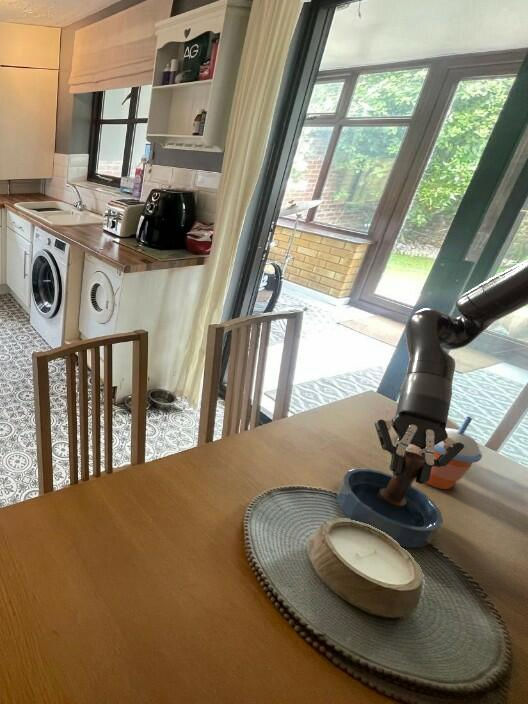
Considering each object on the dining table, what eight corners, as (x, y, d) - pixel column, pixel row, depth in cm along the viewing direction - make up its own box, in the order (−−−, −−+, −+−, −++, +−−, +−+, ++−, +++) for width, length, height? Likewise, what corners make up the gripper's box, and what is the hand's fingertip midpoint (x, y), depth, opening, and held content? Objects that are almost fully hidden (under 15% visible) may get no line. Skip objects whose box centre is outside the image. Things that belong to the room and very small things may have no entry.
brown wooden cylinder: (403, 497, 87) (427, 455, 82) (406, 512, 84) (431, 468, 79) (376, 488, 90) (399, 446, 84) (378, 501, 86) (402, 458, 81)
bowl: (423, 508, 89) (434, 489, 86) (437, 564, 77) (450, 545, 75) (335, 476, 97) (343, 458, 94) (335, 523, 85) (345, 504, 83)
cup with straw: (409, 459, 102) (441, 399, 94) (460, 479, 96) (499, 418, 88) (405, 478, 96) (439, 417, 88) (459, 501, 90) (501, 438, 82)
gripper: (387, 383, 86) (369, 461, 82) (481, 407, 79) (466, 494, 75) (375, 392, 92) (358, 465, 89) (461, 415, 85) (446, 496, 81)
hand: (408, 478), depth 82 cm, fingers closed on brown wooden cylinder, 3 cm apart
